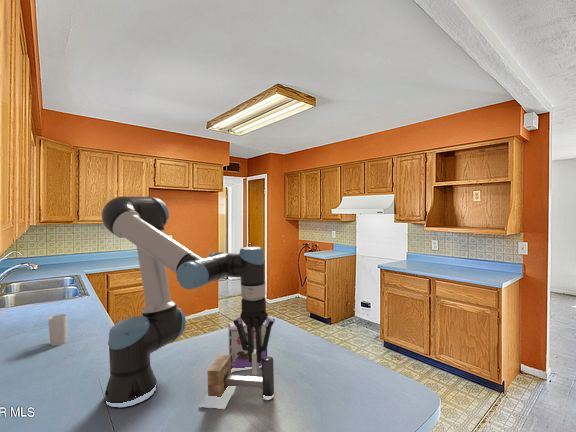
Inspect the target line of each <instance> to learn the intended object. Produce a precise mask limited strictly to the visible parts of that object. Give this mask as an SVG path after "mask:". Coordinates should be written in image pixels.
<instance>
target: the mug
mask: <svg viewBox="0 0 576 432" xmlns="http://www.w3.org/2000/svg"><path fill="white" fill-rule="evenodd" d="M48 331H49V332H48V333H49V344H50V346H52V347H56V346H61V345H65V344H66V343H68V315H67V314H65V313H61V314H60V313H59V314H55V315H52V316H50V317H48Z"/></svg>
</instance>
